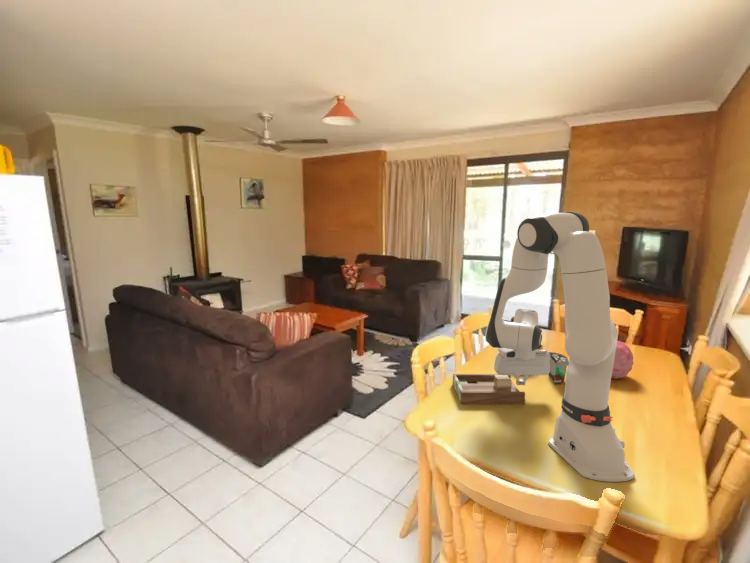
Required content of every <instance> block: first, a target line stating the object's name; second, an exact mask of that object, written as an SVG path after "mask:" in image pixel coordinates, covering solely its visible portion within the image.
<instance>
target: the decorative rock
mask: <svg viewBox="0 0 750 563" xmlns="http://www.w3.org/2000/svg"><path fill="white" fill-rule="evenodd" d="M633 366H634V354H633V352H632V350H631V349H630V347H629V346H628V345H627V344H626V343H625V342H622V341H620V340H617V345H616V352H615V358H614V364H613V370H612V376H611V379H621V378H625V377H626V376H628V375H629V372H630V371H632V370H633Z"/></svg>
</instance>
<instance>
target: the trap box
mask: <svg viewBox="0 0 750 563" xmlns="http://www.w3.org/2000/svg"><path fill="white" fill-rule="evenodd" d="M494 375H499V374H497V373H494V374H493V373H453V374H452V386H453V389H454V390H456V391H455V393H456V396H457V395H458V396H457V398H458V400H459V403H460V402H461V403H460V404H461V405H525V402H526V401H525V400H526V392H525V391H520V390H519V388H518V387H517V386H516V385H515V384H514V382H512V386H511V391H498V390H497V389H496V387H495V386H494ZM507 376H508V377H509V378H510V379H511V376H512V375H507Z"/></svg>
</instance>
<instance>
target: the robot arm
mask: <svg viewBox="0 0 750 563" xmlns="http://www.w3.org/2000/svg"><path fill="white" fill-rule="evenodd" d="M516 234H517V237H516V239H515V242H514V247H513V250H512V256H511V264H510V265H511V267H510V270H509V273H508V275H507V276H506V277H504V278H502V279H501V281H500V282H499V285H498V288H497V292H496V294H495V298H494V303H493V307H492V309H491V310H492V311H491V315H490V319H489V321H488V324H487V325H486V329H485V336H484V337H485V341H486V342H487V344H489V345H490V346H491V347H492V348H496V349H497V351H498V353H497V355H495V360H494V367H493V368H494V372H495V374H499V375H511V376H512V375H513V376H514V379H515V384H516V385H517V386H526V382H527V381H528V380H529V378H530V376H549V375H548V374H549V373H550V362H549V361H550V357H551V355H550V353H549V352H550V351H547V350H537V349H539V348H540V347H541V345H542V341H541V334H542V333H543V330H542V329H541V327H540V326H539V314H538V312H537V311H536V310H532V309H528V308H527V309H526V308H525V309H524V308H518V309H516V310H515V313H514V316H513V317H514V321H513V322H511V321H506V320H504V319H503V316H504V313H505V309H506V305H507V302H508V301H509V300H510V299H512V298H514V297H518V296H521V295H525V294H529V293H532V292H534V291H536V290H538V289H540V288H541V287H542V286H543V284H544V283H545V281H546V279H547V272H548V263H549V262H548V261H549V254H551V252H552V253H554V254H555V255H556V256H557V257H558V260H559V265H560V273H561V282H562V283H561V284H562V288H563V289H562V290H563V298H564V334H565V335H564V336H565V340H564V341H565V342H564V346H565V352H566V353H567V355H568V357H569V359H568V360H569V365H568V366H567V368H566V374H565V385H564V394H563V395H562V399H561V412H560V414H559V415H558V416H557V417H556V419H555V423H554V424H555V425H554V429H553V434H552V435H553V436H552V437H551V438H550V439H548V445H549V446H550V447H551V448H552V449H553V450H554V451H555V452H556V453H557V454H558V455H559V456H560V457H562V458H563V459H564V460H565V462H567V463H568V464H569V465H570V466H571V467H572V468H573V469H574V470H576V472H577V473H578V474H579V475H581V476H582V477H584V478H585V479H586V478H587V479H590V480H593V481H600V482H609V483H613V482H615V483H616V482H617V483H618V482H627V481H630V480H633V479H634V478H635V472H634V470H633V469H632V467H631V466H630V465H629V464H628V462H627V460H626V458H625V457H626V456H625V455H626V454H625V446H626V445H625V441H624V440H623V439H620V438H619V437H618V435H617V434H616V433H617V432H616V429H615V428H614V427H613V425H612V423H611V422H612V421H613V416H611V410H610V405H609V396H610V391H611V390H610V389H611V381H612V378H611V376H612V370H613V364H614V358H615V352H616V345H617V341H618V336H619V331H618V328H617V326H616V324H615V322H614V321H613V320H612V319H611V307H610V306H611V305H610V304H611V303H610V302H611V301H610V300H611V296H610V288H609V281H608V279H609V278H608V273H607V267H606V260H605V255H604V251H603V248H602V246H601V242H600V240H599V238H598V236H597V235H596V234H595V233H594V232H590V224H589V222H588V219H587V218H586V216H584V215H583V214H581V213H578V212H574V211H566V212H548V213H544V214H543V213H542V214H539V215H533V216H529V217H526V218H525V219H523V221H521V222H520V224H519V225H518V228H517V232H516ZM521 375H522V376H523V377H522V378H520V376H521Z"/></svg>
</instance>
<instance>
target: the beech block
mask: <svg viewBox="0 0 750 563" xmlns="http://www.w3.org/2000/svg"><path fill="white" fill-rule="evenodd" d="M512 383H513V381H512V379H511V378H509V377H508V376H507V375H494V386H495V387H496V389H497V390H498V391H511V386H512Z"/></svg>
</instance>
